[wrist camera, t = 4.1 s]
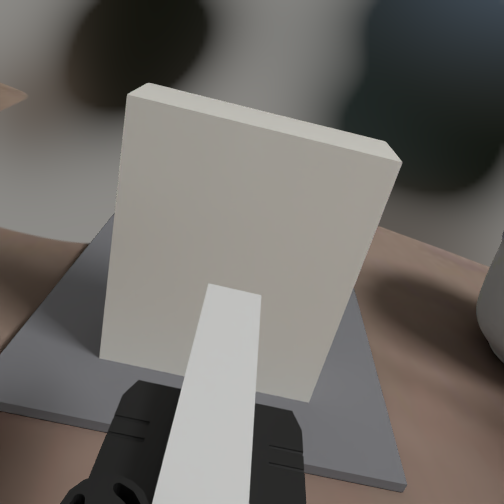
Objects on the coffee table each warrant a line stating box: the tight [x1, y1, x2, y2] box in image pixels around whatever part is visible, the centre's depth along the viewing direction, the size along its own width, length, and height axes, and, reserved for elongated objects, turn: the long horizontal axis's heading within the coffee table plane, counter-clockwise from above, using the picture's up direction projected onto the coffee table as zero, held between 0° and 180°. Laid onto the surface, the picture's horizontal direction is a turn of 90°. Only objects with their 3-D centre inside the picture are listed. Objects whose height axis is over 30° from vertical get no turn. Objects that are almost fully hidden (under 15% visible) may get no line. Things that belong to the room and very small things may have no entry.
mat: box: [0, 213, 407, 492], centre depth 29 cm, size 22×18×1 cm
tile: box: [99, 83, 402, 403], centre depth 21 cm, size 3×10×12 cm, turn 87°
